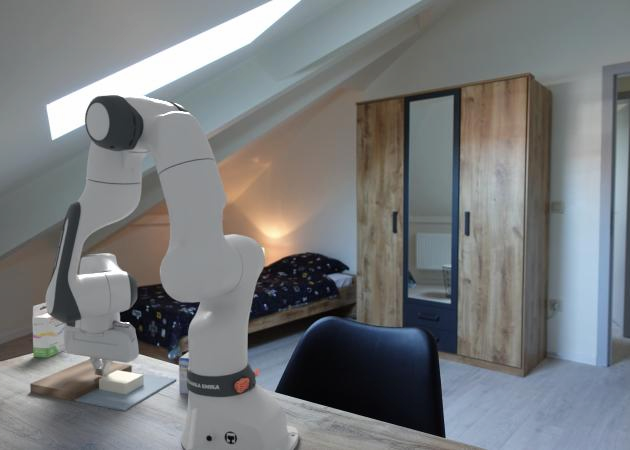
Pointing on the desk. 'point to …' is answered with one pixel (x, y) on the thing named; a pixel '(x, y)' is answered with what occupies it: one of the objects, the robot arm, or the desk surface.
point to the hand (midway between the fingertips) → (102, 374)
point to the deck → (74, 380)
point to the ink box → (46, 333)
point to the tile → (121, 382)
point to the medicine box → (183, 373)
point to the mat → (126, 400)
